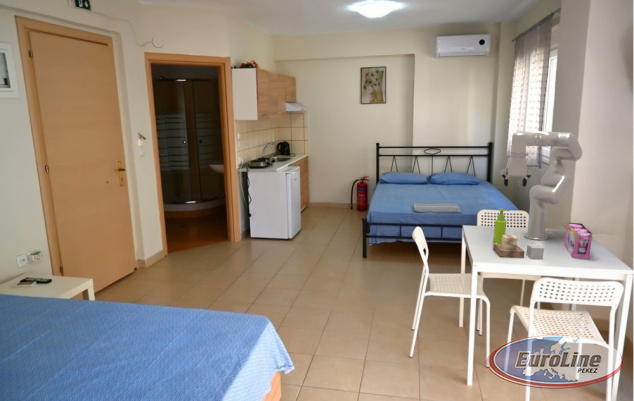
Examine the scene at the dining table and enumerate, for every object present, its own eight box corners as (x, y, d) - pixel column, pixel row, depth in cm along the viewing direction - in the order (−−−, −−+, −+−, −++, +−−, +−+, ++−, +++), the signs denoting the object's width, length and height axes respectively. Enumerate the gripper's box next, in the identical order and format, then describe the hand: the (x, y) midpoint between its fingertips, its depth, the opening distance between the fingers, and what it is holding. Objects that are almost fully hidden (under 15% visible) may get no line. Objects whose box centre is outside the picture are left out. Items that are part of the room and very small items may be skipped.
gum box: (590, 260, 224) (594, 234, 221) (572, 258, 227) (576, 233, 224) (579, 246, 246) (582, 223, 244) (563, 245, 249) (566, 222, 246)
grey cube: (537, 255, 231) (539, 244, 230) (542, 259, 225) (544, 248, 224) (526, 255, 232) (527, 244, 231) (530, 259, 226) (531, 247, 225)
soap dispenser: (507, 244, 250) (511, 210, 246) (495, 244, 250) (498, 210, 246) (504, 241, 255) (507, 207, 251) (491, 241, 256) (494, 207, 252)
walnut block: (515, 251, 239) (516, 244, 238) (523, 258, 227) (524, 251, 226) (492, 250, 240) (493, 243, 239) (499, 258, 228) (500, 250, 227)
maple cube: (512, 245, 235) (513, 235, 234) (516, 249, 230) (517, 238, 228) (501, 245, 236) (502, 234, 235) (504, 249, 230) (505, 238, 229)
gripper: (531, 155, 244) (528, 185, 247) (499, 154, 245) (496, 184, 249) (537, 156, 237) (533, 187, 240) (503, 156, 238) (501, 187, 242)
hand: (514, 186), depth 245 cm, fingers open, 9 cm apart
